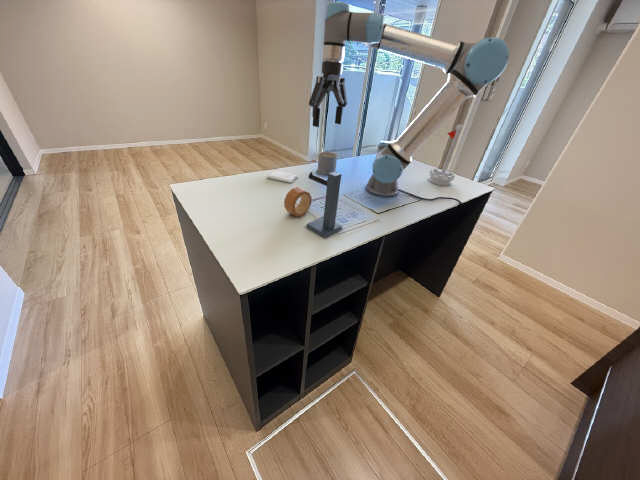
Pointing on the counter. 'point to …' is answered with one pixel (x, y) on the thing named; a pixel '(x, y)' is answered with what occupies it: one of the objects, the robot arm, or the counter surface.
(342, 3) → the robot arm
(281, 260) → the counter surface
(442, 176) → the flag stand
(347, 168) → the counter surface
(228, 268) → the counter surface
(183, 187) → the counter surface
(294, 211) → the tape roll
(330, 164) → the coffee mug
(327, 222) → the hook stand
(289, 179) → the hard drive
